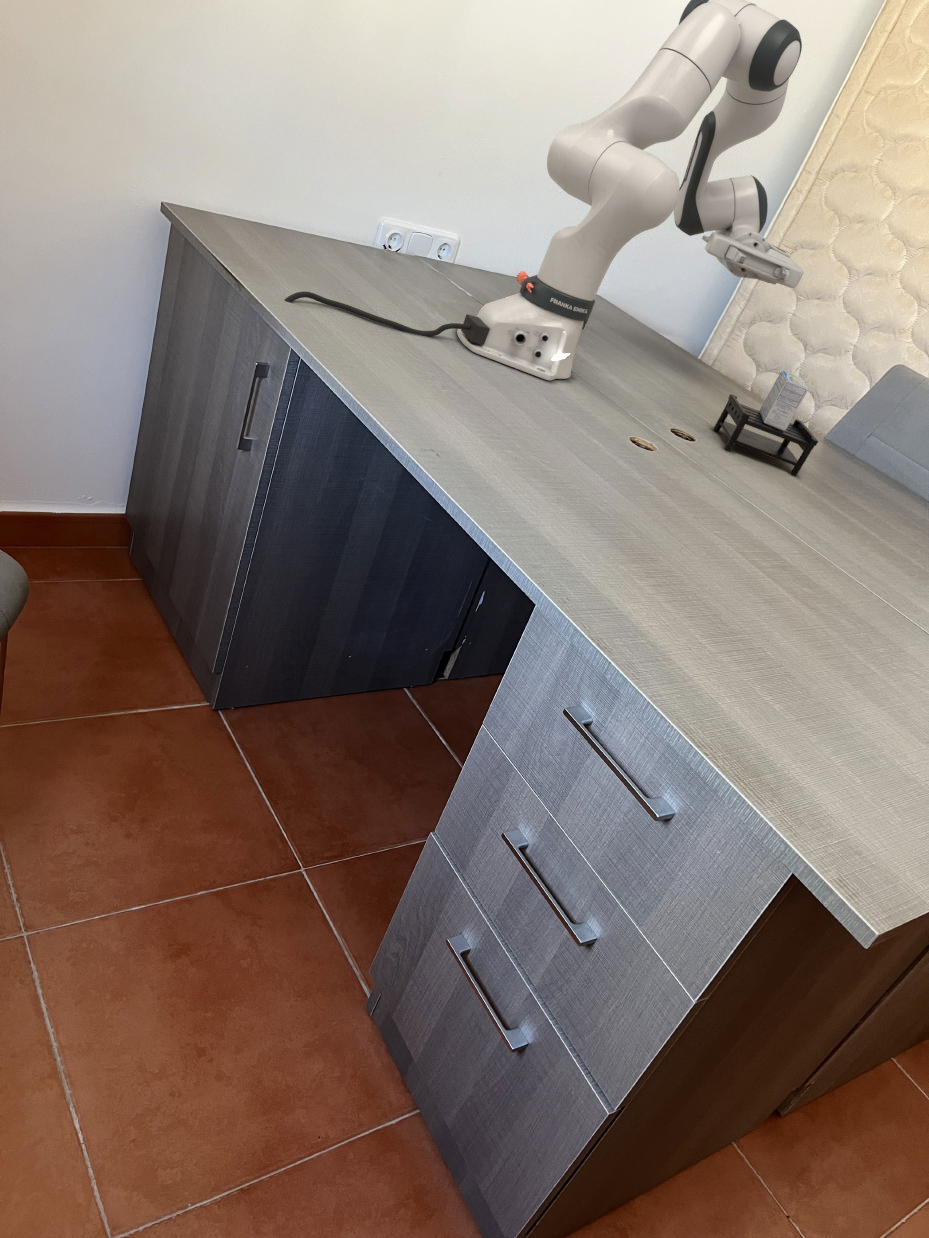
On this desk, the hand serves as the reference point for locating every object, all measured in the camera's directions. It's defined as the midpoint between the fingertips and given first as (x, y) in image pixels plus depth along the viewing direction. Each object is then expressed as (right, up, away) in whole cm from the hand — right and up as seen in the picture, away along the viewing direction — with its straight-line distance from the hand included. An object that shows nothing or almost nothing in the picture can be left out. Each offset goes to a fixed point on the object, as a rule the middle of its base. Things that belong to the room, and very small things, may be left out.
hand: (763, 268), depth 181 cm
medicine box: (-1, -32, -7) cm, 33 cm away
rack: (-3, -37, -4) cm, 37 cm away
